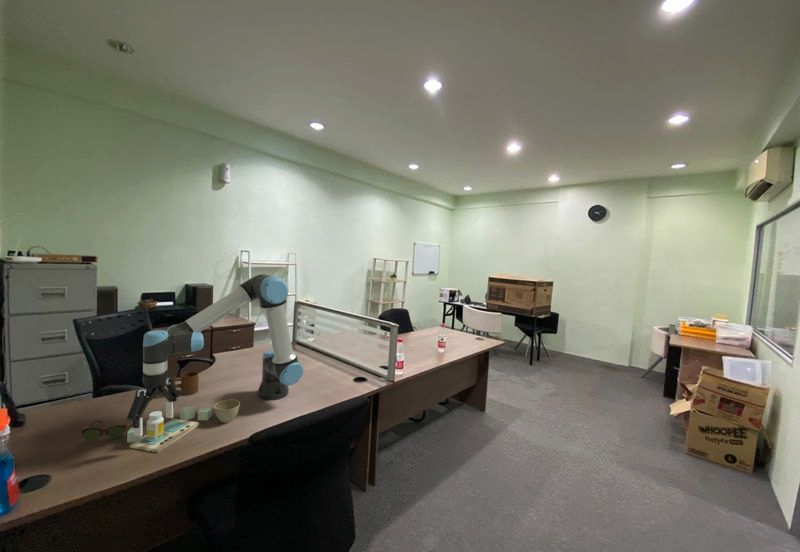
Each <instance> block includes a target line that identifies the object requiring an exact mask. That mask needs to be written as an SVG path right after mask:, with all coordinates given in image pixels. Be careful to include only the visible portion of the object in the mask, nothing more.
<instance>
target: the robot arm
mask: <svg viewBox="0 0 800 552" xmlns="http://www.w3.org/2000/svg"><path fill="white" fill-rule="evenodd" d="M288 295H289V288H288V284H287V283H286V281H284V280H283V279H282V278H280V277H277V276H272V275H267V274H257V275H255V276H253V277H251V278H249V279H247V280H246V281H244V282H242V283H240V284H239V285H237V287H236V289H235V290H234V291H232V292H230V293H228V294H227V295H225V296H224V297H222V298H219V300H216V301H215V302H214V303H212V304H210V305H209V306H207V307H206V308H204V309H202V310H201V311H199V312H198V313H196V314H194V315H193V316H190V317H189V318H188V319H186V320H185V321H183V322H180V323H179V324H173V325H170V326H169V327H167V329H166V330H163V329H158V330H157V329H156V330H155V329H154V330H150V331H147V332H145V333H144V335H143V342H142V384H143V386H144V387H143V389H141V390H139V389H138V390H136V391H135V395H134V399H133V401H132V404H131V406H130V409H129V412H128V415H127V417H126V420H129V421H133V422H132V427H133V428H134V435H136V436H142V426H143V419H144V418H143V417H142V416H143V415H144V412H145V411H146V408H147V407H148V405H149V403H150V402H151V401H152V400H153V399H154V398H156V397H157V396H160V395H162V396H163V398H165V399H166V401H165V418H168V419H174V408H175V402H177V401H178V398H179V396H180V394H179V393H178V390H177V388H175V386H174V384H173V379H174V378H171V377H168V356H170V355H177V354H183V353H184V354H185V353H193V352H196V351H201V350H203V348H204V345H205V342H204V341H205V339H204V335H203V333H202V331H204V330H206V329H207V328H209V327H210V326H212V325H213V324H216V323H217V322H218V321H220V320H222V319H223V318H224V317H226V316H227V315H229V314H230V313H232V312H234V311H236V310H237V309H239V308H240V307H242V306H243V305H245V304H246V303H250V304H251V303H252V302H253V301H255V300H258V301H259V307H260V309H262V310H264V312H265V317H266V321H267V326H268V331H269V336H270V337H269V338H270V340H271V341H270V342H271V345H272V346H271V347H272V349H270V350H267V351H265V352H263V354H262V372H261V375H262V378H261V382H260V385H259V387H258V390H257V397H258V398H259V399H263V400H267V401H270V400H271V401H272V400H273V401H274V400H280V399H283V398H285V397H286V396H288V395H289V390H290V389H289V386H293V385H294V386H295V384H297V383H298V382H300V380H301V378H302V377H303V375H304V370H305V369H304V366H303V365H302V363H300V362H299V359H298V354H297V352H295V351H294V350H293V346H292V340H291V335H290V331H289V325H288V320H287V314H286V310H285V305H287V296H288ZM165 387H166V388H165ZM142 437H143V436H142Z"/></svg>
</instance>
